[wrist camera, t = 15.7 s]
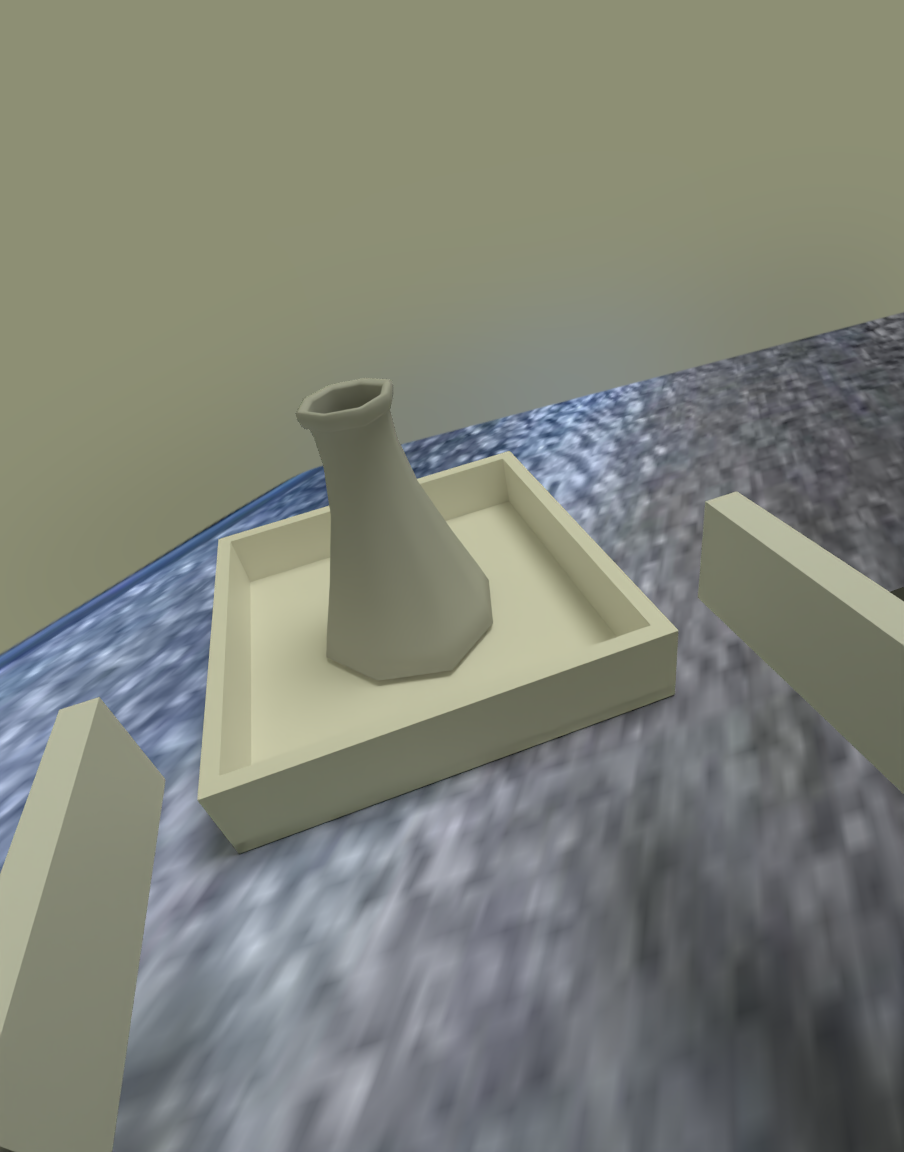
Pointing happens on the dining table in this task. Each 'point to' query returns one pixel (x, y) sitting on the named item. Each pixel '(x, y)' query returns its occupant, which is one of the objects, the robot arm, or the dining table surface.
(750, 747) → the dining table surface
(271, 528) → the box
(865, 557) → the dining table surface
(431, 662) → the flask
